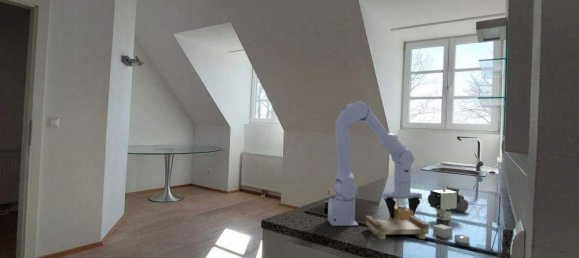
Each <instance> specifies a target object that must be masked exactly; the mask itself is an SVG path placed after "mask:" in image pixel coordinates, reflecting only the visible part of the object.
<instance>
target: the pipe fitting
mask: <svg viewBox="0 0 579 258" xmlns="http://www.w3.org/2000/svg"><path fill="white" fill-rule="evenodd" d="M446 190H452V191H456V192H458V195H459V196H460V203H459V204H458V208H453V209H452V210H454V211H455V212H458V213H460V214H463V213H465V212H467V210H468V209H469V201H468V200H467V199H465V196H464V194H461V193H459V192H460V188H458V187H457V186H452V185H446Z"/></svg>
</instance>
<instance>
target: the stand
mask: <svg viewBox="0 0 579 258" xmlns="http://www.w3.org/2000/svg"><path fill="white" fill-rule="evenodd" d="M429 225H430V224H429V223H427V222H426V221H424V220H421V219H420V218H418V217H417V216H415V215H414V216H409V220H392V219H375V217H373V216H371V215H365V226H367V227H368V230H369V231H370V232H371V233H372V234H373V235H374V236H375V237H376V238H377V239H379V240H386V236H387V235H413V234H414V236H415V237H416V238H418V239H420V240H425V239H426V235H429V232H430V231H429V230H430V229H429V227H430V226H429Z"/></svg>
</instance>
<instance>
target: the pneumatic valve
mask: <svg viewBox="0 0 579 258" xmlns="http://www.w3.org/2000/svg"><path fill="white" fill-rule="evenodd" d="M458 194H459V192H456V191H452V190H447V188H444V187H443V188H442V189H437V190H430V192H429V195H428V196H427V202H428V204H429V205H430V206H429V207H430V208H433V209H436V213H435V216H436V219H438V220H441V221H443V222H446V221H451V217H452V212H451V211H450V209H451V210H453V208H458V204H459V203H460V196H459V195H458Z"/></svg>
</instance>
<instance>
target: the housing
mask: <svg viewBox="0 0 579 258" xmlns="http://www.w3.org/2000/svg"><path fill="white" fill-rule="evenodd" d="M409 216H413V211H412V210H410V209H409V207H407V206H406V205H400V204H399V205H395V208H394V219H393V220H409ZM388 217H390V215H389V216H388Z"/></svg>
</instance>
